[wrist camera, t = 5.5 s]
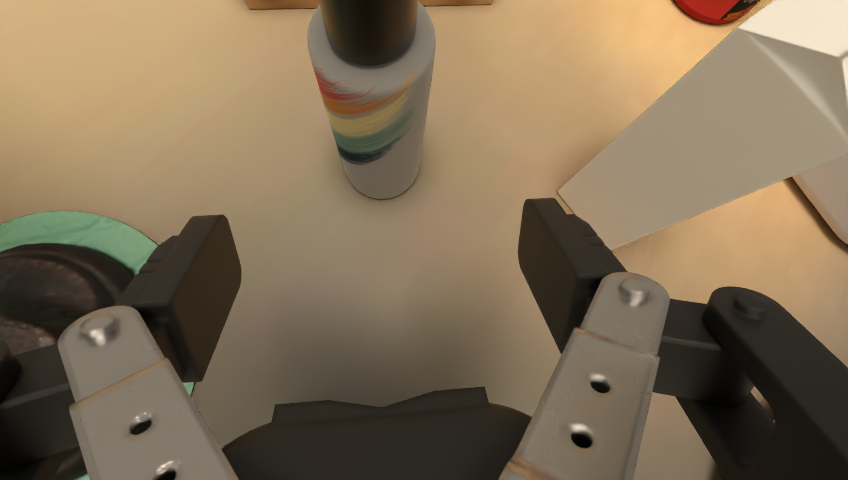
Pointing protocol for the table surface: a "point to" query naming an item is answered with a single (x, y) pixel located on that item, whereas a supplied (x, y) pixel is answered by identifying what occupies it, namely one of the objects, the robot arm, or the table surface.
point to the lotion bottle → (375, 87)
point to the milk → (726, 125)
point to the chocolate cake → (63, 282)
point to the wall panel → (312, 1)
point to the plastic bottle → (828, 192)
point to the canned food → (716, 9)
